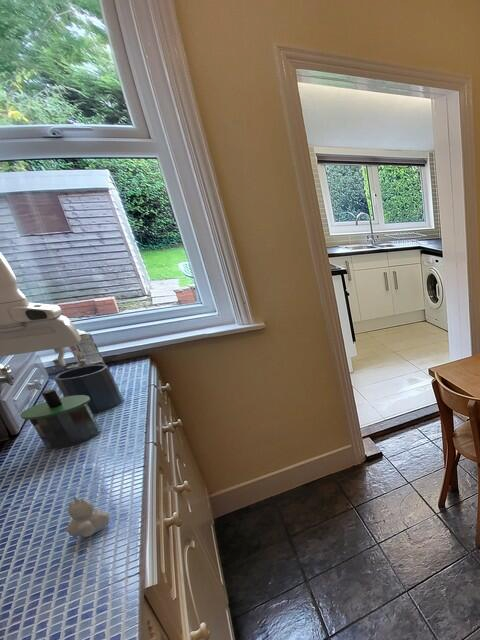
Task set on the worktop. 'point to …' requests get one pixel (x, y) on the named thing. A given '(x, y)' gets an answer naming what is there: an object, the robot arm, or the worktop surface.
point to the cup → (67, 428)
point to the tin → (91, 386)
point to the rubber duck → (85, 518)
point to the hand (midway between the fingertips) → (34, 369)
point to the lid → (54, 405)
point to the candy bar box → (86, 349)
